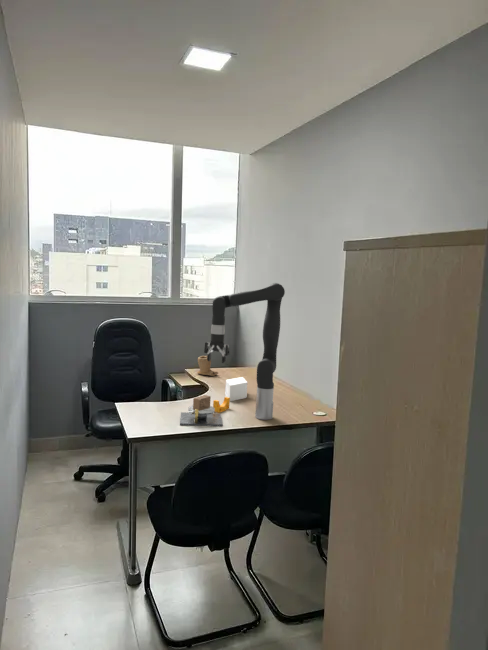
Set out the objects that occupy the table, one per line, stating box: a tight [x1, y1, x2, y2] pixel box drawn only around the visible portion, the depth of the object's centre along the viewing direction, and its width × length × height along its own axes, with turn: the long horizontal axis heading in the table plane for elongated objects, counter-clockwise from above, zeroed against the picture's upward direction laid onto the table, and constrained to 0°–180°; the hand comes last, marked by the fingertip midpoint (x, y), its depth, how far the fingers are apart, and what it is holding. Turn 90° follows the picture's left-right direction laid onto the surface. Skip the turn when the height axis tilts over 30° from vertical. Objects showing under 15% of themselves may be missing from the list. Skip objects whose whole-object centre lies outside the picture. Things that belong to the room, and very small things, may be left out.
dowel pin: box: [195, 409, 198, 423], centre depth 257 cm, size 2×2×7 cm
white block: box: [224, 376, 248, 402], centre depth 321 cm, size 14×29×10 cm, turn 165°
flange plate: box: [188, 394, 216, 415], centre depth 263 cm, size 17×14×8 cm
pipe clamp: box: [212, 396, 231, 414], centre depth 287 cm, size 12×4×6 cm, turn 144°
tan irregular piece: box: [196, 355, 219, 377], centre depth 381 cm, size 15×12×15 cm
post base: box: [179, 411, 224, 427], centre depth 265 cm, size 22×20×5 cm
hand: (216, 361), depth 273 cm, fingers open, 8 cm apart
